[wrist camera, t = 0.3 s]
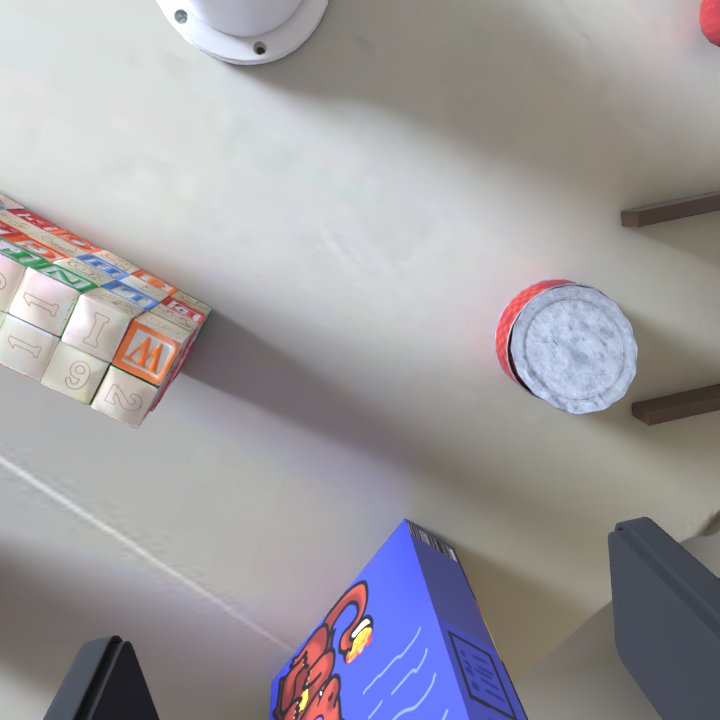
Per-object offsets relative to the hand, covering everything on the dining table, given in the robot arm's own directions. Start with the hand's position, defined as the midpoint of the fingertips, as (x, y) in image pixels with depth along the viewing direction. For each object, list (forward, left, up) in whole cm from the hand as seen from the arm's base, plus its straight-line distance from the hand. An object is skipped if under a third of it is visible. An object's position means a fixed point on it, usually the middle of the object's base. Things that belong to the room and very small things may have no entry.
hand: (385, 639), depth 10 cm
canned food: (+6, +18, -36) cm, 41 cm away
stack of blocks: (-7, -19, -36) cm, 41 cm away
